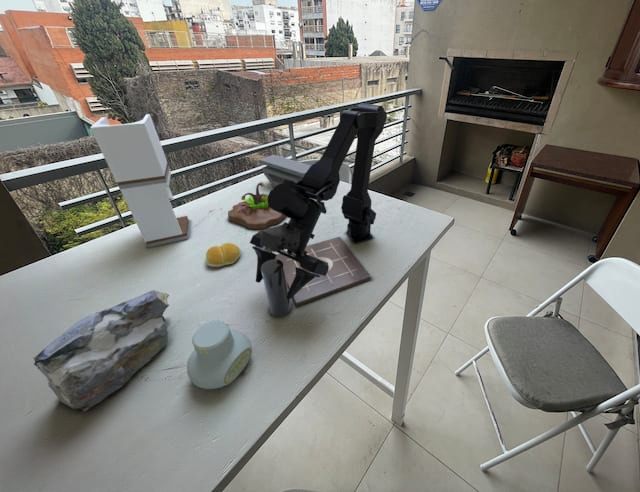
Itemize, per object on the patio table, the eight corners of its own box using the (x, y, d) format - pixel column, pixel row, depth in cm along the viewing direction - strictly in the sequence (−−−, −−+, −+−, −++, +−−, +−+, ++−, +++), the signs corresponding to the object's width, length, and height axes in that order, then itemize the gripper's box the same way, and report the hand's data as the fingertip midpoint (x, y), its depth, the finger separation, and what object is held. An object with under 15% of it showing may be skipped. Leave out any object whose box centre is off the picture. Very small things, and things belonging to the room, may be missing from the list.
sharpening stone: (263, 183, 123) (258, 159, 117) (276, 177, 128) (273, 154, 123) (306, 199, 111) (303, 173, 106) (319, 192, 117) (317, 167, 111)
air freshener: (219, 403, 49) (202, 371, 43) (184, 384, 51) (164, 351, 46) (261, 350, 57) (251, 317, 52) (229, 335, 60) (217, 303, 54)
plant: (301, 208, 105) (298, 181, 99) (261, 234, 91) (254, 204, 85) (263, 195, 114) (258, 169, 107) (221, 217, 99) (212, 188, 93)
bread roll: (243, 262, 80) (240, 250, 77) (208, 271, 76) (204, 260, 74) (239, 245, 86) (236, 235, 84) (206, 254, 82) (202, 243, 80)
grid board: (339, 239, 89) (339, 236, 89) (370, 279, 74) (370, 276, 74) (276, 257, 81) (275, 254, 81) (296, 306, 67) (296, 302, 66)
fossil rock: (167, 329, 65) (159, 275, 59) (194, 348, 62) (189, 293, 56) (44, 402, 48) (16, 336, 42) (74, 435, 44) (48, 368, 39)
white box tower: (188, 238, 88) (144, 123, 70) (148, 247, 84) (89, 127, 66) (188, 220, 97) (149, 114, 78) (152, 228, 93) (102, 117, 74)
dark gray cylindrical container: (287, 298, 69) (280, 256, 62) (293, 312, 65) (286, 269, 58) (268, 305, 67) (258, 263, 60) (273, 319, 63) (263, 276, 56)
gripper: (248, 201, 60) (215, 269, 58) (316, 227, 52) (281, 308, 50) (279, 216, 70) (252, 275, 68) (341, 240, 62) (313, 308, 60)
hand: (272, 290), depth 61 cm, fingers open, 9 cm apart
